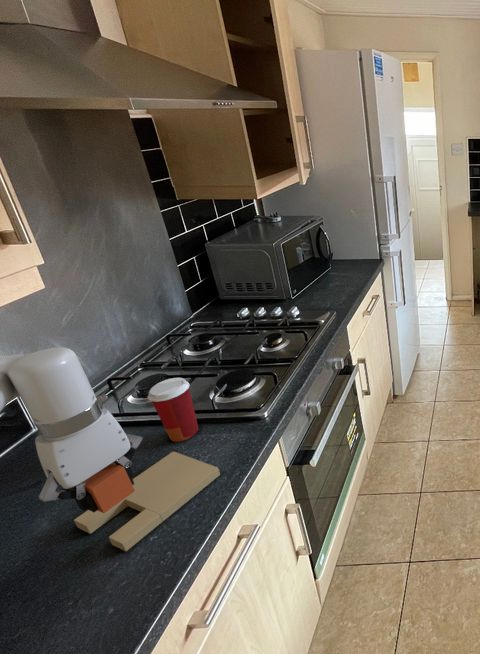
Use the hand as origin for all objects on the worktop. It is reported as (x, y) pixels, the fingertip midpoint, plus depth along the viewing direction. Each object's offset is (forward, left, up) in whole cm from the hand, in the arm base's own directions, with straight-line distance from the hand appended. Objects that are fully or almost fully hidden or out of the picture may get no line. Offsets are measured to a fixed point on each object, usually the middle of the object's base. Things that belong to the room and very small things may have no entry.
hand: (109, 495), depth 77 cm
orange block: (0, 0, -1) cm, 1 cm away
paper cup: (+21, +13, -8) cm, 26 cm away
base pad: (+6, 0, -8) cm, 9 cm away
